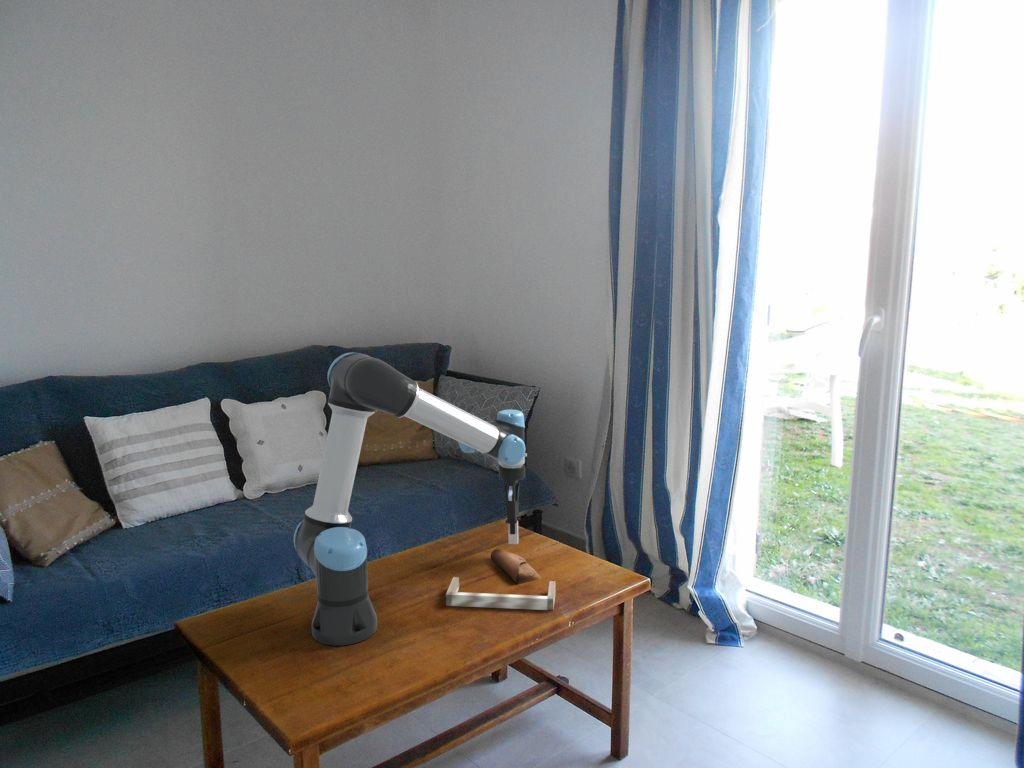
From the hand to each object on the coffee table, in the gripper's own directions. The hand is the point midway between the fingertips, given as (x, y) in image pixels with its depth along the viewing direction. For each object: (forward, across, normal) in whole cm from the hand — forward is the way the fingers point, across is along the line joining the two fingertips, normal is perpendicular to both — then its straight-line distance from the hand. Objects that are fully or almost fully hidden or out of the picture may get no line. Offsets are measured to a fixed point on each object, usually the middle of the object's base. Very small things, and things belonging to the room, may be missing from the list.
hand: (513, 542), depth 216 cm
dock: (+4, -26, 0) cm, 26 cm away
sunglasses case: (+5, -8, -2) cm, 9 cm away
